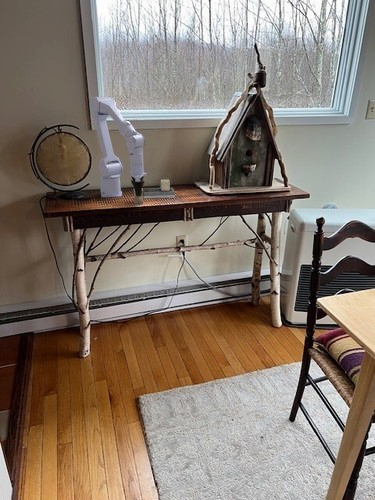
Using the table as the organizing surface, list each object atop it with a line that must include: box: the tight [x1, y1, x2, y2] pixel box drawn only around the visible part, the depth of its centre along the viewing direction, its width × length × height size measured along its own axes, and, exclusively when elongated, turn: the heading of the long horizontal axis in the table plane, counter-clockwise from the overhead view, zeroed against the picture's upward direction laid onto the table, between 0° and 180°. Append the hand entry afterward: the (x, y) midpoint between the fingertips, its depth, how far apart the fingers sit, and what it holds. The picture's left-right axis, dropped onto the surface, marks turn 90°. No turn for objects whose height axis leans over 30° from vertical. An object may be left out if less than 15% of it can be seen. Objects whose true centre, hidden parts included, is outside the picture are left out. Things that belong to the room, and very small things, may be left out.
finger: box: [133, 187, 145, 205], centre depth 163 cm, size 4×4×6 cm
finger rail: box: [143, 179, 175, 200], centre depth 173 cm, size 18×9×7 cm, turn 98°
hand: (138, 193), depth 163 cm, fingers open, 7 cm apart
